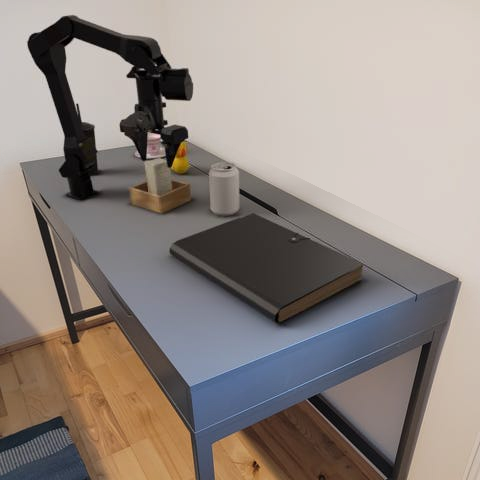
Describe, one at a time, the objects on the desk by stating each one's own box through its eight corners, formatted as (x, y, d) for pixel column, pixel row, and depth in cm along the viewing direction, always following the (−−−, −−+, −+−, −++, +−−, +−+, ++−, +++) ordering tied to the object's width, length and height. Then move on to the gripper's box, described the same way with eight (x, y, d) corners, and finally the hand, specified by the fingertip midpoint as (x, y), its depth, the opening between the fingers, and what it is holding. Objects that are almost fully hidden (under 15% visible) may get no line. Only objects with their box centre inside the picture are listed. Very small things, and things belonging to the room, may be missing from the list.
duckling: (194, 177, 146) (192, 143, 140) (177, 179, 145) (174, 145, 139) (183, 166, 155) (181, 134, 149) (167, 168, 153) (164, 136, 147)
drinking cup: (107, 171, 151) (96, 102, 139) (89, 178, 146) (76, 107, 134) (90, 167, 154) (78, 99, 143) (72, 173, 149) (57, 104, 138)
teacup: (140, 161, 159) (137, 142, 156) (131, 151, 168) (128, 133, 165) (174, 156, 164) (173, 137, 160) (164, 147, 172) (162, 129, 169)
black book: (365, 262, 94) (275, 309, 81) (362, 280, 96) (274, 328, 84) (253, 211, 114) (168, 242, 102) (253, 227, 117) (170, 259, 104)
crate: (131, 204, 129) (128, 187, 127) (160, 191, 137) (159, 175, 134) (162, 213, 124) (160, 197, 121) (191, 200, 131) (189, 184, 129)
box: (164, 197, 133) (160, 157, 127) (174, 201, 131) (170, 160, 124) (148, 202, 130) (143, 161, 124) (158, 206, 128) (153, 165, 121)
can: (236, 218, 121) (235, 170, 114) (207, 215, 123) (205, 169, 116) (241, 206, 127) (241, 161, 120) (214, 204, 128) (212, 159, 122)
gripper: (97, 99, 114) (108, 165, 123) (153, 110, 105) (161, 180, 114) (132, 92, 122) (140, 154, 131) (187, 101, 113) (191, 167, 122)
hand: (156, 164), depth 124 cm, fingers open, 9 cm apart
